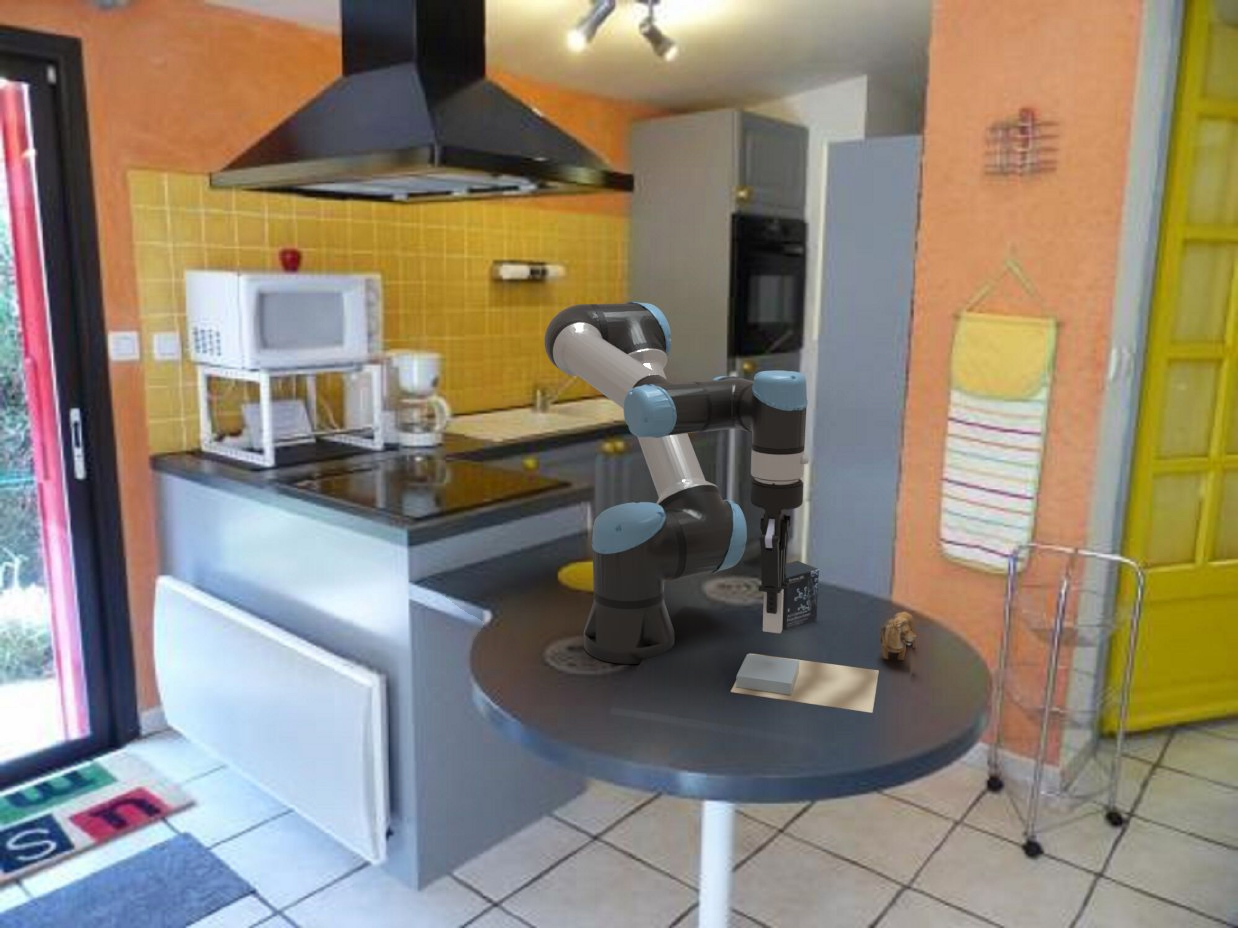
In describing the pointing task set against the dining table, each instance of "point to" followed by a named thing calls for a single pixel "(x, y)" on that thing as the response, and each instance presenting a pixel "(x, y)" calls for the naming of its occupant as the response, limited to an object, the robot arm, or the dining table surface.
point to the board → (828, 686)
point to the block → (768, 674)
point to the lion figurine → (898, 634)
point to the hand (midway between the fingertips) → (772, 630)
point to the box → (800, 595)
